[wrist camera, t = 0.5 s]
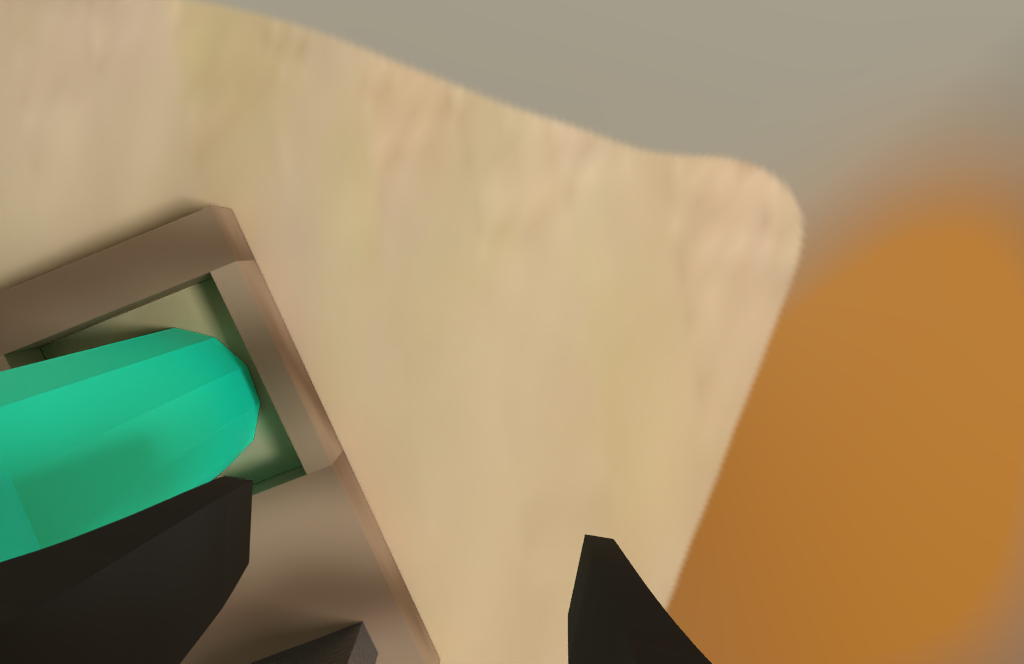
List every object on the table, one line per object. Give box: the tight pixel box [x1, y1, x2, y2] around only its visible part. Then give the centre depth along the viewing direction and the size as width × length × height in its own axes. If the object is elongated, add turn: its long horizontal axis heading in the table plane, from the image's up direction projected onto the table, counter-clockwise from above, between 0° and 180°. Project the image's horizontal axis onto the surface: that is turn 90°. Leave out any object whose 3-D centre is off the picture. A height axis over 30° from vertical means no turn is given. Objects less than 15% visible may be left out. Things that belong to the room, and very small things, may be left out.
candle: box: [0, 328, 261, 562], centre depth 15 cm, size 6×6×12 cm
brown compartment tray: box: [0, 206, 440, 664], centre depth 19 cm, size 20×10×5 cm, turn 21°
